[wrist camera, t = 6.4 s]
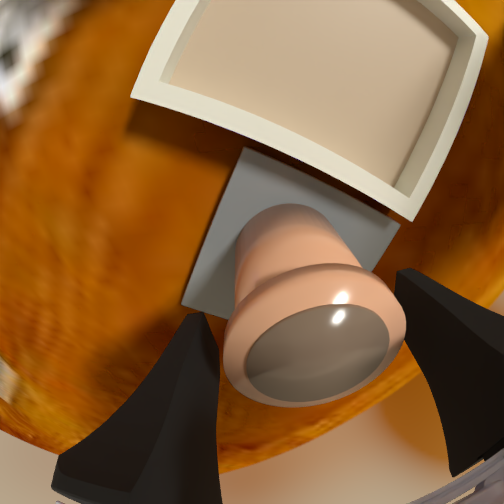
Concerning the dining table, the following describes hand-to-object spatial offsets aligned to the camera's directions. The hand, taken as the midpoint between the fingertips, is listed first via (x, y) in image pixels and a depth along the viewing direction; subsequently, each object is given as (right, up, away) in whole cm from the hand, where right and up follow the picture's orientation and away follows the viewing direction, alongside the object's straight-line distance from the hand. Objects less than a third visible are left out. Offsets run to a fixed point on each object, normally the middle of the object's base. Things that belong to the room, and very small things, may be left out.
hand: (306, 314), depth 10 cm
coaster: (0, +2, +3) cm, 4 cm away
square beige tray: (+1, +11, -1) cm, 11 cm away
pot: (0, +2, +3) cm, 3 cm away
